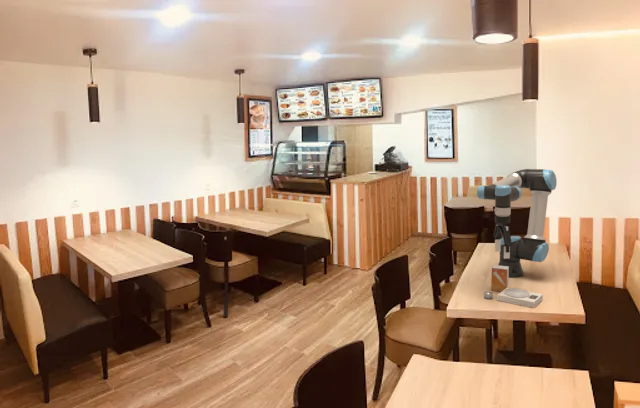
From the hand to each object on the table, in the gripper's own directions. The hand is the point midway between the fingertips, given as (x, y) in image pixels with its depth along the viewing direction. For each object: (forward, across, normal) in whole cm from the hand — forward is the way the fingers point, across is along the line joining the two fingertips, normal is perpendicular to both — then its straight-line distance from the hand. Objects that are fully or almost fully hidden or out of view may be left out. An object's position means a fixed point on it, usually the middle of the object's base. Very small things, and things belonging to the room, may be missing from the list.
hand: (502, 254), depth 239 cm
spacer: (+22, +4, -8) cm, 24 cm away
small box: (+23, -9, +2) cm, 24 cm away
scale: (+22, +8, +6) cm, 25 cm away
